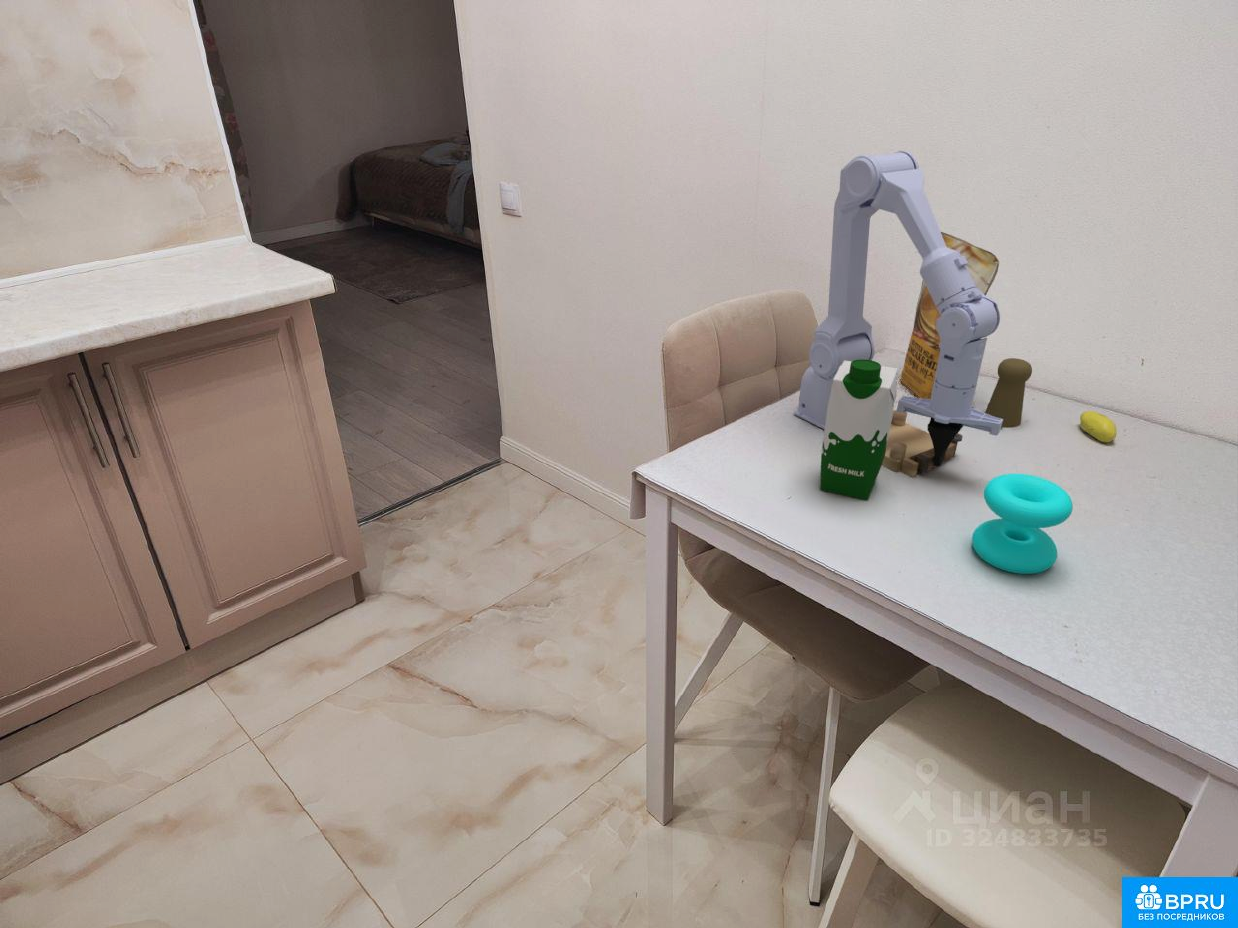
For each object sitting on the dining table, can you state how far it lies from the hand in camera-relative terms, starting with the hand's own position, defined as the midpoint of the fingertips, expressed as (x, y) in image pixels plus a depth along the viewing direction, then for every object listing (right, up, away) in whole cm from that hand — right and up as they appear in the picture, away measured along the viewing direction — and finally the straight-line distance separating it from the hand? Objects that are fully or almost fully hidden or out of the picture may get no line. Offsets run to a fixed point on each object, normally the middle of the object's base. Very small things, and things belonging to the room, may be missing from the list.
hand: (938, 463), depth 120 cm
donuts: (+2, -12, -18) cm, 22 cm away
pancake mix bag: (+9, +13, +28) cm, 32 cm away
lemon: (+31, +5, +12) cm, 34 cm away
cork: (+18, +8, +17) cm, 26 cm away
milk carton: (-14, -3, -2) cm, 15 cm away
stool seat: (-3, +2, +7) cm, 8 cm away
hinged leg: (0, 0, +2) cm, 2 cm away
